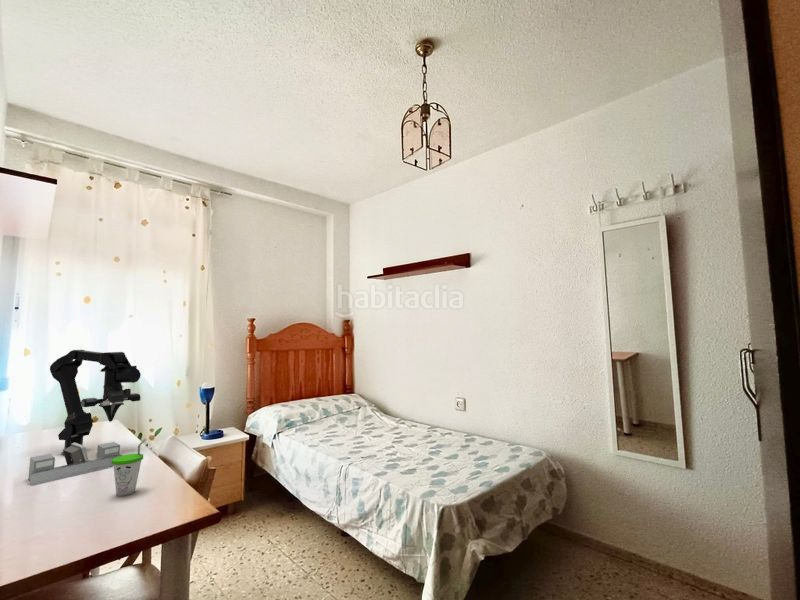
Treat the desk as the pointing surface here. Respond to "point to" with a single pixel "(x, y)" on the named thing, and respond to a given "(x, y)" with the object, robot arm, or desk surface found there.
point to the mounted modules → (49, 460)
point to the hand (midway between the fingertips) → (110, 421)
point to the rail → (71, 470)
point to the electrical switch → (75, 454)
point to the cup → (127, 472)
